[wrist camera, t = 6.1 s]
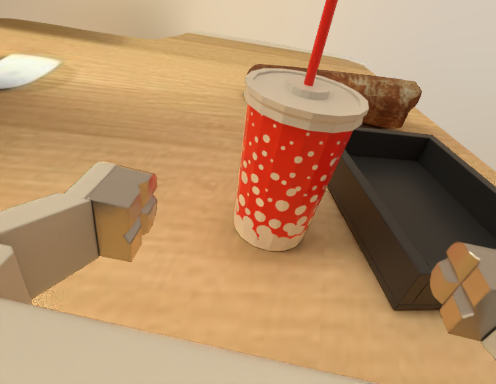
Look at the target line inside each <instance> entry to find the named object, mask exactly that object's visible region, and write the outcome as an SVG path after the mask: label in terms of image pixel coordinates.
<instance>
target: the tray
mask: <svg viewBox="0 0 496 384" xmlns="http://www.w3.org/2000/svg"><path fill="white" fill-rule="evenodd" d="M328 188H329V190H330V192H331V194H332V196H333V198H334V199H335V201H336V203H337V205H338V207H339V209H340V211H341V212H342V214H343V216H344V218H345V220H346V222H347V224H348V225H349V227H350V229H351V231H352V233H353V235H354V237H355V238H356V240H357V242H358V244H359V246H360V248H361V250H362V251H363V253H364V255H365V257H366V259H367V261H368V263H369V264H370V266H371V268H372V270H373V272H374V274H375V276H376V277H377V279H378V281H379V283H380V285H381V287H382V289H383V290H384V292H385V294H386V296H387V298H388V300H389V302H390V303H391V305H392V307H393V309H394V310H435V309H440V308H441V306H442V304H441V303H440V302H439V301H438V300H437V299H436V298H435V297H434V296H433V294H432V291H431V288H430V277H431V272H432V270H433V269H434V267H435V266H436V264H437V263H438V262H440V261H442V260H445V259H447V254H446V251H447V250H448V248H449V247H450V246H451V245H452V244H454V243H455V242H457V241H458V242H463V243H467V244H472V245H477V246H481V247H486V248H491V249H496V187H495V186H494V185H493V184H492V183H490V182H489V181H488V180H487V179H485V178H484V177H483V176H482V175H481V174H479V173H478V172H477V171H476V170H474V169H473V168H472V167H471V166H470V165H468V164H467V163H466V162H465V161H463V160H462V159H461V158H460V157H459V156H457V155H456V154H455V153H454V152H452V151H451V150H450V149H449V148H448V147H446V146H445V145H444V144H443V143H441V142H440V141H439V140H438V139H437V138H435V137H434V136H433V135H428V134H418V133H409V132H400V131H391V130H382V129H373V128H364V127H357V128H356V129H354V130H353V132H352V134H351V137H350V139H349V141H348V143H347V145H346V147H345V149H344V151H343V154H342V156H341V158H340V160H339V162H338V164H337V166H336V169H335V171H334V173H333V175H332V177H331V179H330V181H329V184H328Z"/></svg>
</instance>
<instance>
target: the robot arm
mask: <svg viewBox="0 0 496 384" xmlns="http://www.w3.org/2000/svg"><path fill="white" fill-rule="evenodd" d="M156 188H157V176H156V175H155V174H153V173H149V172H145V171H141V170H137V169H133V168H129V167H125V166H121V165H116V164H112V163H107V162H103V161H100V162H96V163H95V164H94V165H93V166H92V167H91V168H90V169H89V170H88V171H87V172H86V173H85V174H84V175H83V176H82V177H81V178H80V179H79V180H77V181H76V182H75V183H74V184H73V185H72V186H71V187H70V188H69V189H68V190H67V191H66V192H65V193H64V194H60V193H55V194H52V195H49V196H46V197H43V198H40V199H36V200H33V201H30V202H27V203H24V204H21V205H17V206H14V207H11V208H8V209H5V210H2V211H0V384H379V383H374V382H370V381H365V380H361V379H357V378H352V377H348V376H343V375H339V374H335V373H330V372H326V371H321V370H317V369H312V368H308V367H304V366H299V365H295V364H290V363H286V362H282V361H277V360H273V359H268V358H264V357H260V356H255V355H251V354H246V353H242V352H238V351H233V350H229V349H224V348H220V347H216V346H211V345H207V344H202V343H198V342H193V341H189V340H185V339H180V338H176V337H171V336H167V335H162V334H158V333H154V332H149V331H145V330H140V329H136V328H132V327H127V326H123V325H118V324H114V323H109V322H105V321H101V320H96V319H92V318H87V317H83V316H78V315H74V314H70V313H65V312H61V311H56V310H52V309H47V308H43V307H39V306H34V305H33V304H32V301H31V299H33V298H34V297H36V296H38V295H39V294H41V293H43V292H44V291H46V290H47V289H49V288H51V287H52V286H54V285H55V284H57V283H59V282H60V281H62V280H63V279H65V278H67V277H68V276H70V275H71V274H73V273H75V272H76V271H78V270H80V269H81V268H83V267H84V266H86V265H88V264H89V263H91V262H92V261H94V260H96V259H97V258H99V256H103V257H108V258H113V259H118V260H123V261H128V262H132V260H133V258H134V257H135V255H136V253H137V251H138V250H139V248H140V246H141V245H142V235H144V234H146V233H148V232H149V230H150V229H151V227H152V225H153V222H154V219H155V216H156V210H157V199H156V198H155V197H154V195H153V193H154V192H155V190H156ZM446 254H447V259H445V260H442V261H440V262H438V263H437V264H436V266H435V267H434V269H433V270H432V272H431V277H430V288H431V291H432V294H433V296H434V297H435V298H436V299H437V300H438V301H439V302H440V303H441V304H442V306H441V308H440V310H439V311H440V314H441V316H442V319H443V321H444V324H445V326H446V329H447V331H448V333H449V334H453V335H457V336H461V337H465V338H469V339H473V340H477V341H481V344H482V345H483V346H484V347H485V349H486V350H487V351H488V352H489V353H490V354H491V355H492V357H493V358H494V359H495V360H496V249H491V248H486V247H481V246H477V245H472V244H467V243H463V242H458V241H457V242H455V243H454V244H452V245H451V246H450V247H449V248H448V250H447V251H446Z"/></svg>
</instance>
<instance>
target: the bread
mask: <svg viewBox="0 0 496 384" xmlns="http://www.w3.org/2000/svg"><path fill="white" fill-rule="evenodd" d="M263 68H282V69H289V70H296V71H303V72H307V69H306V68H299V67H288V66H275V65H263V64H258V65H254V66H253V67H252V68H251V69H250V70H249V71H248V73H247V75H248V74H249V73H250V72H251V71H254V70H259V69H263ZM316 75H319V76H323V77H326V78H329V79H331V80H334V81H337V82H339V83H342V84H344V85H346V86H348V87H350V88H352V89H354V90H355V91H357V92H359V93H360V94H361V95H362V96H363V97H364V98H365V99H366V100H367V101H368V106H369V110H368V112H367V115H365V116H364V117H363V121H362V123H365V124H369V125H372V126H378V127H383V128H384V127H385V128H401V127H402V126H403V123H404V121H405V119H406V117H407V115H408V112H409V111H410V110H411V109H412V108H413V107H415V106H416V104H417V103H418V101H419V98H420V96H421V93H422V91H421V89H420V87H418V85H417V83H416V82H414V81H406V80H402V79H394V78H385V77H378V76H371V75H362V74H353V73H345V72H336V71H328V70H317V74H316Z"/></svg>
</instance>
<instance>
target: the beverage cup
mask: <svg viewBox="0 0 496 384" xmlns="http://www.w3.org/2000/svg"><path fill="white" fill-rule="evenodd" d="M337 1H338V0H326V3H325V6H324V10H323V14H322V17H321V21H320V25H319V29H318V32H317V36H316V39H315V43H314V47H313V50H312V54H311V58H310V62H309V65H308V69H307V72H303V71H296V70H289V69H282V68H263V69H259V70H254V71H251V72H250V73H249V74H248V75H247V76H246V77H245V80H244V84H245V89H244V92H243V95H244V98H245V101H246V103H247V106H246V115H245V124H244V133H243V141H242V150H241V159H240V168H239V177H238V186H237V195H236V204H235V213H234V224H235V229H236V230H237V232H238V233H239V235H240V236H241V237H242V238H243V239H244V240H245V241H247V242H248V243H250V244H251V245H253V246H255V247H258V248H261V249H264V250H267V251H285V250H288V249H291V248H294V247H296V246H297V245H298V244H299V243H300V242H301V241H302V239H303V237H304V235H305V233H306V230H307V228H308V226H309V224H310V222H311V220H312V218H313V216H314V213H315V211H316V209H317V207H318V205H319V203H320V201H321V198H322V196H323V194H324V192H325V190H326V188H327V186H328V184H329V181H330V179H331V177H332V175H333V173H334V171H335V169H336V166H337V164H338V162H339V160H340V158H341V156H342V154H343V151H344V149H345V147H346V145H347V143H348V141H349V139H350V137H351V134H352V132H353V130H354V129H356V128H357V127H359V126H360V125H362V121H363V117H364V116H365V115H367V112H368V110H369V106H368V101H367V100H366V99H365V98H364V97H363V96H362V95H361V94H360V93H359V92H357V91H355V90H354V89H352V88H350V87H348V86H346V85H344V84H342V83H339V82H337V81H334V80H331V79H329V78H326V77H323V76H319V75H316V74H317V70H318V67H319V63H320V60H321V56H322V53H323V49H324V46H325V42H326V39H327V36H328V32H329V28H330V25H331V22H332V18H333V15H334V11H335V8H336V4H337Z"/></svg>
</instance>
